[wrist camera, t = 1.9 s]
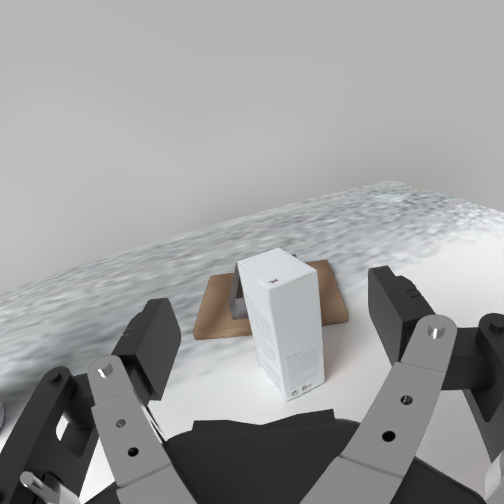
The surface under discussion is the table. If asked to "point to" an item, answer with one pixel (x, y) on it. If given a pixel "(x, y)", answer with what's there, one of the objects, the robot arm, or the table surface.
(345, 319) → the holder
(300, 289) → the skincare box
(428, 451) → the table surface
